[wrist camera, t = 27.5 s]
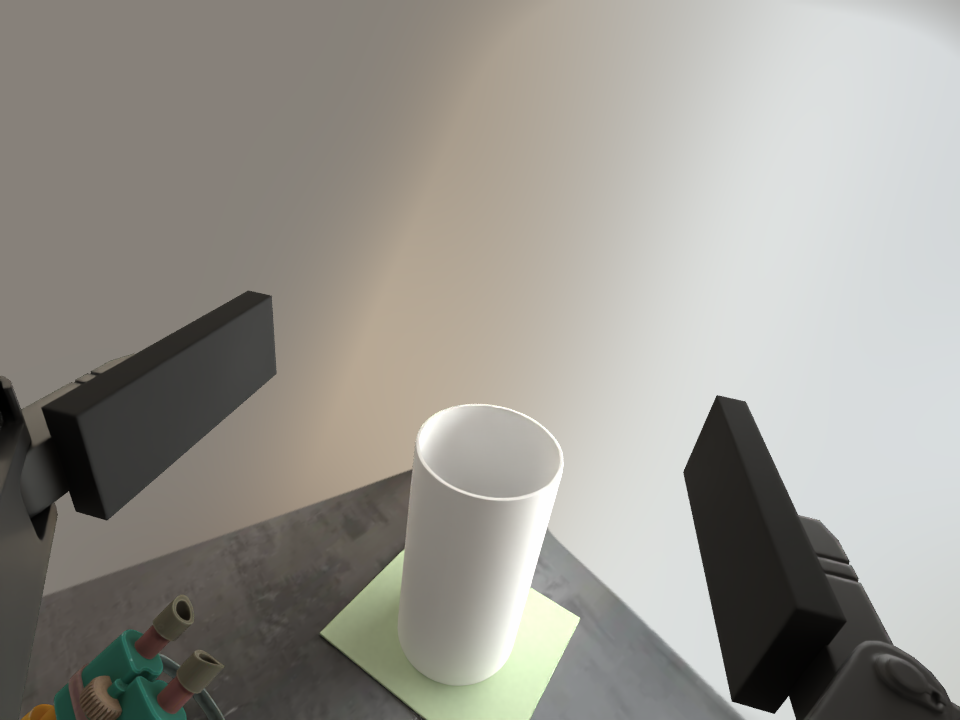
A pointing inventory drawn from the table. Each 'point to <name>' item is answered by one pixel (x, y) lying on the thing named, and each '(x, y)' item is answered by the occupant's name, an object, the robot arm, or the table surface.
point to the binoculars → (138, 677)
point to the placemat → (446, 709)
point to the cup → (473, 538)
